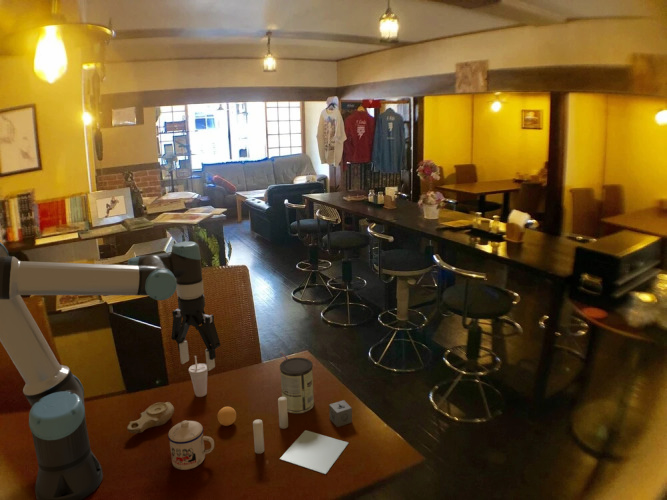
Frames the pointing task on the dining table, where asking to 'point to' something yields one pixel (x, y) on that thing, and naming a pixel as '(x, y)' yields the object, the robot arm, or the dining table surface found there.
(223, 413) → the ball
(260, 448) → the post
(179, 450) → the teacup with lid
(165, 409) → the oil lamp
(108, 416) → the dining table surface
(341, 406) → the dice cube
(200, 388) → the smoothie
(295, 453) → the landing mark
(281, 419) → the post
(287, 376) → the coffee can
